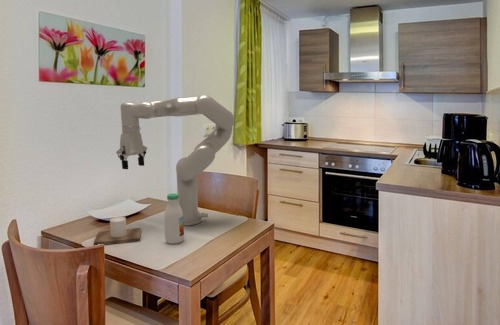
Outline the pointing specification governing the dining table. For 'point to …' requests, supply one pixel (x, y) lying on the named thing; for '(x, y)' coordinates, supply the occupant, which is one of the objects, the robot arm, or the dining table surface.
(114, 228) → the pale grey short cylinder
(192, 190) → the robot arm
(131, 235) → the post base
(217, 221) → the dining table surface
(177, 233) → the milk bottle
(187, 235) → the dining table surface
